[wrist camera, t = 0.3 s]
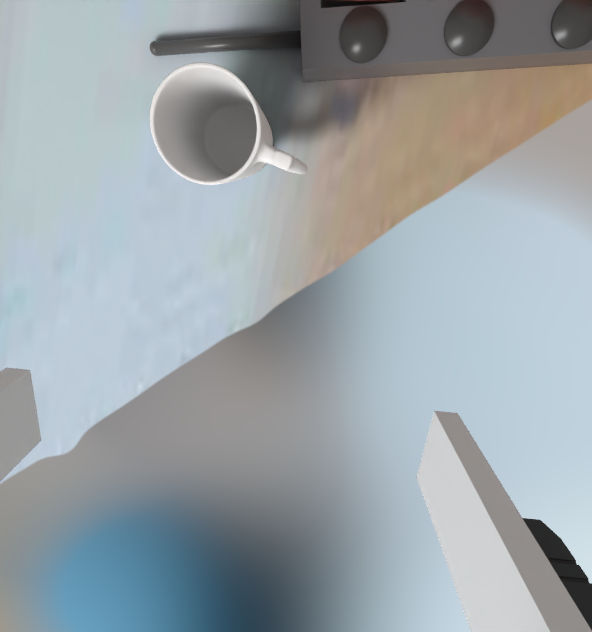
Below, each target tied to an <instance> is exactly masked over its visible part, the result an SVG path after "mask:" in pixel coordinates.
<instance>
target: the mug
mask: <svg viewBox="0 0 592 632" xmlns="http://www.w3.org/2000/svg"><path fill="white" fill-rule="evenodd" d="M150 126H151V132H152V136H153V140H154V142H155V145H156V147H157V149H158V151H159V153H160V155H161V156H162V158H163V159H164V161H165V162H166V163H167V164H168V165H169V166H170V167H171V168H172V169H173V170H174V171H175V172H176V173H177V174H179V175H180V176H182V177H184V178H185V179H187V180H190V181H192V182H195V183H199V184H205V185H215V184H221V183H227V182H231V181H235V180H239V179H244V178H247V177H249V176H252V175H254V174H256V173H257V172H259V171H260V170H261V169H262V168H263V167H264V166H265V165H266V163H269V164H271V165H274V166H277V167H279V168H281V169H284V170H287V171H290V172H293V173H298V174H305V173H306V171H307V165H306V164H304V163H303V162H301V161H300V160H298V159H297V158H295V157H293V156H292V155H290V154H288V153H286V152H284V151H281V150H279V149H277V148H275V147H274V146H273V136H272V131H271V128H270V125H269V123H268V121H267V119H266V117H265V115H264V113H263V112H262V110H261V108H260V107H259V105H258V103H257V101H256V100H255V98H254V96H253V95H252V94H251V92H250V90H249V89H248V88H247V86H246V85H245V84H244V83H243V82H242V81H241V79H239V78H238V77H237V76H236V75H235V74H233V73H232V72H231V71H229V70H227V69H225V68H223V67H221V66H218V65H215V64H211V63H202V62H200V63H191V64H187V65H184V66H182V67H179V68H177V69H176V70H174V71H173V72H171V73H170V74H169V75H168V76H167V77H166V78H165V79H164V80H163V81H162V82H161V84H160V85H159V87H158V89H157V90H156V92H155V95H154V97H153V100H152V104H151V109H150Z"/></svg>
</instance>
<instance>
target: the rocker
mask: <svg viewBox="0 0 592 632" xmlns="http://www.w3.org/2000/svg"><path fill="white" fill-rule="evenodd" d="M354 1H388V2H394V1H395V0H354Z"/></svg>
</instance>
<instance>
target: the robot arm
mask: <svg viewBox="0 0 592 632" xmlns="http://www.w3.org/2000/svg"><path fill="white" fill-rule="evenodd" d="M40 441H41V436H40V429H39V423H38V417H37V410H36V404H35V398H34V392H33V385H32V379H31V373H30V370H23V369H13V368H5V369H4V370H2V371H1V372H0V481H1V480H2V479H3V478H4V477H5V476H6V475H7V474H8V473H9V472H10V471H11V470H12V469H13V468H14V467H15V466H16V465H17V464H18V463H19V462H20V461H21V460H22V459H23V458H24V457H25V456H26V455H27V454H28V453H29V452H30V451H31V450H32V449H33V448H34V447H35V446H36V445H37V444H38V443H39V442H40ZM417 480H418V482H419V485H420V488H421V491H422V494H423V497H424V500H425V503H426V505H427V508H428V511H429V514H430V517H431V519H432V522H433V525H434V528H435V531H436V534H437V536H438V539H439V542H440V545H441V547H442V551H443V553H444V556H445V559H446V562H447V565H448V567H449V570H450V573H451V576H452V579H453V582H454V584H455V587H456V590H457V593H458V596H459V599H460V601H461V604H462V607H463V610H464V613H465V616H466V618H467V621H468V624H469V627H470V630H471V632H592V584H590V583H589V582H588V578H587V576H586V575H585V573H584V572H583V570H582V569H581V567H580V566H579V565H577V564H576V560H575V559H574V557H573V556H572V555H571V553H570V551H569V550H568V548H567V547H566V546H565V544H564V543H563V541H562V540H561V539H560V538H559V537H558V536H557V535H556V534H555V533H554V532H553V531H552V530H551V529H550V528H548V527H547V526H546V525H545V524H544V523H543V522H542V521H541V520H535V519H525V518H522V517H521V515H520V514H519V512H518V510H517V509H516V507H515V505H514V504H513V502H512V501H511V499H510V497H509V496H508V494H507V493H506V491H505V489H504V488H503V486H502V484H501V483H500V481H499V480H498V478H497V476H496V475H495V473H494V472H493V470H492V468H491V467H490V465H489V464H488V462H487V460H486V458H485V457H484V455H483V454H482V452H481V450H480V449H479V447H478V446H477V444H476V442H475V441H474V439H473V437H472V436H471V434H470V433H469V431H468V430H467V428H466V426H465V425H464V423H463V421H462V420H461V418H460V416H459V415H458V413H450V412H439V411H434V414H433V418H432V421H431V425H430V429H429V433H428V437H427V440H426V445H425V448H424V452H423V456H422V460H421V464H420V467H419V471H418V475H417Z"/></svg>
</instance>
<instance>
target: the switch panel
mask: <svg viewBox="0 0 592 632" xmlns="http://www.w3.org/2000/svg"><path fill="white" fill-rule="evenodd" d="M299 3H300V28H301V31H291V32H277V33H263V34H249V35H235V36H220V37H206V38H192V39H178V40H164V41H153V42H152V43H151V44H150V51H151V52H152V54H154V55H156V56H162V55H176V54H191V53H206V52H220V51H235V50H249V49H264V48H278V47H293V46H301V54H302V76H303V82H310V81H326V80H341V79H357V78H372V77H387V76H403V75H418V74H434V73H449V72H465V71H480V70H496V69H511V68H527V67H542V66H557V65H573V64H588V63H592V0H395V1H394V2H388V1H354V0H299Z"/></svg>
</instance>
